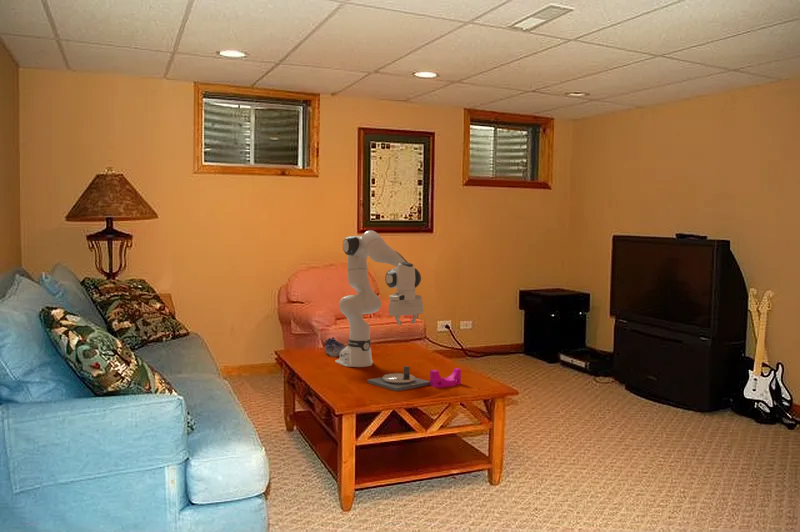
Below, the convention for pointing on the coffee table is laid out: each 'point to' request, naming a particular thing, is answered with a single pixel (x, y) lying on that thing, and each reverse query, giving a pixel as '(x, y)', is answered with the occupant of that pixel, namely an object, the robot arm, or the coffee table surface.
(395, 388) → the dial plate
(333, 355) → the geode
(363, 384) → the coffee table surface
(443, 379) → the toy block
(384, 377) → the dial
